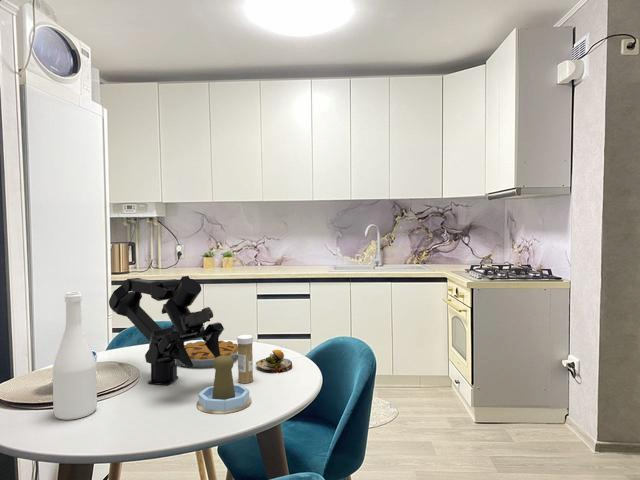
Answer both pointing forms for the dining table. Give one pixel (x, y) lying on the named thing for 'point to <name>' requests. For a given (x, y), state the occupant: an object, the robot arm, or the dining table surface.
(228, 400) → the bowl
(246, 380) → the sprinkles bottle
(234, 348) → the pie
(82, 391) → the wine bottle
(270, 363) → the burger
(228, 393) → the cork
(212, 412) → the placemat
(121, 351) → the dining table surface
